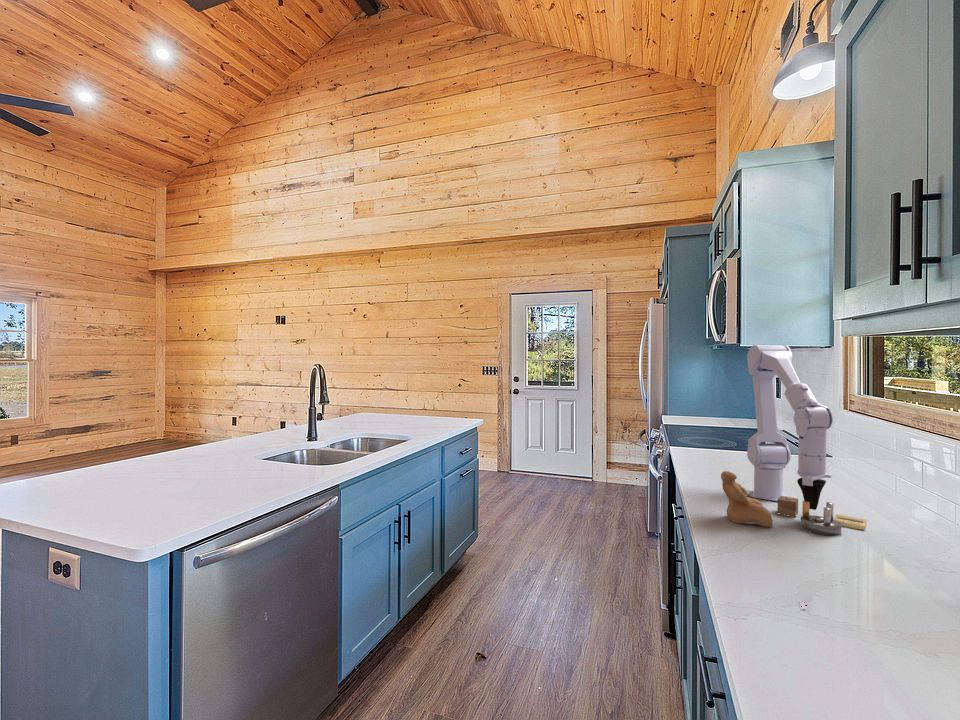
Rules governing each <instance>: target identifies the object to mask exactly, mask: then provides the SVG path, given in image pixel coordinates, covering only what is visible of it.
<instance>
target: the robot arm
mask: <svg viewBox="0 0 960 720" xmlns="http://www.w3.org/2000/svg"><path fill="white" fill-rule="evenodd" d="M746 358H747V359H746V360H747V369H748V374H749V375H751V376H752V383H753V393H754V394H753V395H754V406H755V417H756V428H757V432H755V434H753V435H752V436H750V438H748V440H747V441H748V445H747V449H746V451H747V452H746V453H747V454H746V455H747V458H748V461H749V462H750V464H751V465H753V491H752V492H751V493H750V494H749V498H753V499H762V500H768V501H771V500H772V501H773V502H777V501H778V498H779V497H780V496H786V497H788V493H786V492H784V479H785V478H784V469H786V467H787V466H788V465H789V463H790V462H791V458H792V454H791V450H790V447H789V444H788V440H787V438H786V437H784V436H783V435H782V434H781V433H779V432H778V422H777V411H776V400H775V390H774V388H775V387H774V380H773V379H774V378H775V377H776V376H777V377H778V379H779V380H780V382H781V384H783V385H784V387H785V391H784V396H785V398H786V400H787V401H788V403H789V406H790V407H791V408H792V410H793V411H794V414H793V422H794V426H795V430H796V431H795V433H796V435H797V436H798V459H797V460H798V462H797V463H798V464H797V465H798V466H797V467H798V468H797V471H796V474H798V476H799V477H800V478H798V479H797V481H796V482H797V484H798V486H799V488H800V490H801V492H802V493H801V494H802V498H803V501H808V502H810V504H809V510H814V511H817V508H818V505H819V501H820V497H821V493H822V491H823V488H824V487H825V485H826V484H827V480H825V479H826V478H827V479H832V473H829V472H827V471H826V470H827V430H829V429H830V428H831V427H832V425H833V421H834V420H833V419H834V417H833V414H832V412H831V410H830V408H829V407H828V406H826V405H823V403H820V402H819V401H818V400H817V399H816V396H815V395H814V394H813V392H812V390H811V388H810V387H809V385H808V384H806V383H802V382H801V381H800V379H799V376H798V375H797V373H796V370H795V369H794V366H793V363H792V362H793V352H792V350H791V348H790V346H788V345H785V344H781V345H758V344H753V345H751V346H750V348H749V350H748V352H747V354H746Z"/></svg>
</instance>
